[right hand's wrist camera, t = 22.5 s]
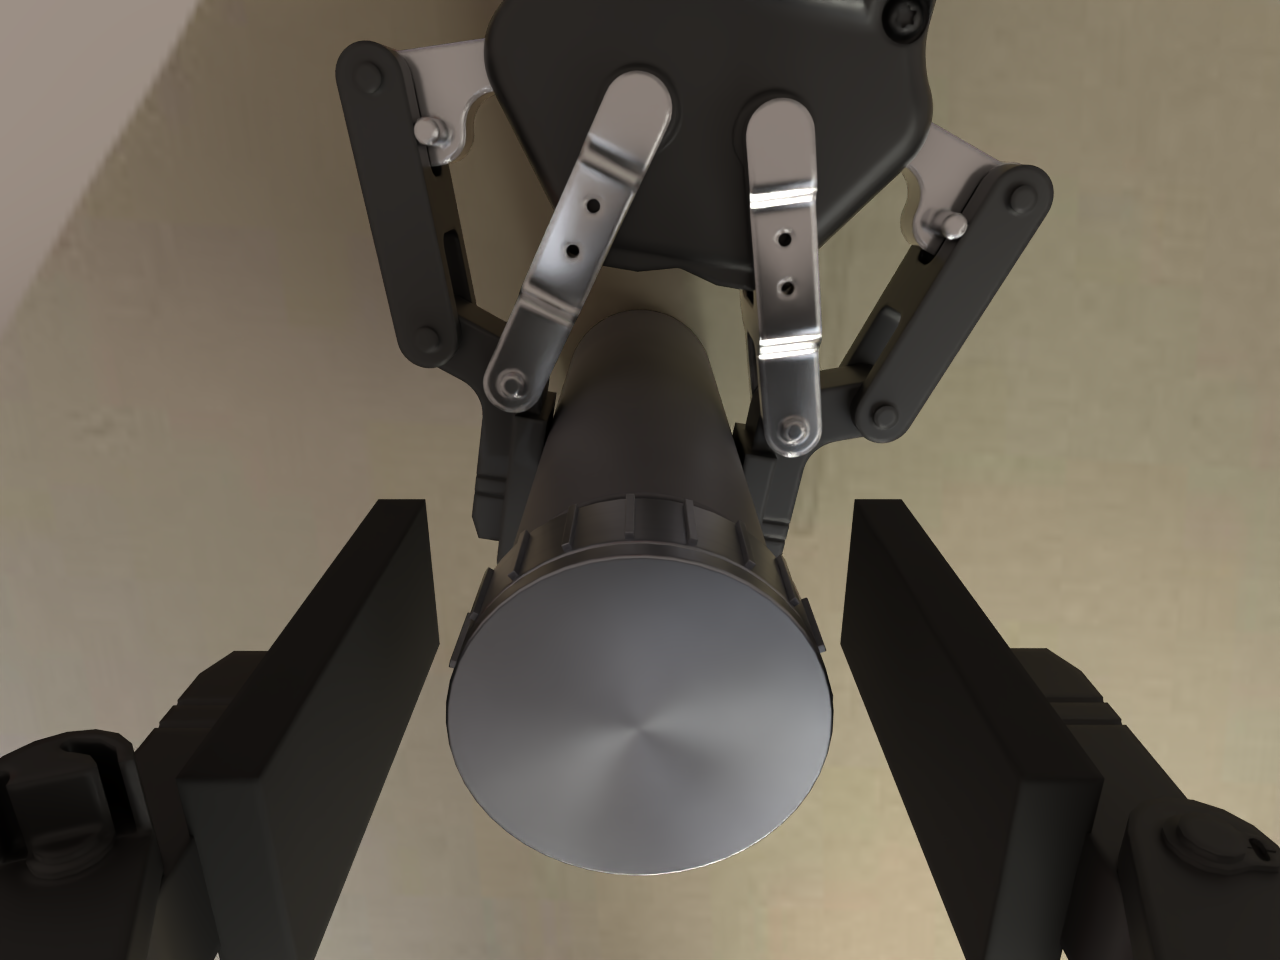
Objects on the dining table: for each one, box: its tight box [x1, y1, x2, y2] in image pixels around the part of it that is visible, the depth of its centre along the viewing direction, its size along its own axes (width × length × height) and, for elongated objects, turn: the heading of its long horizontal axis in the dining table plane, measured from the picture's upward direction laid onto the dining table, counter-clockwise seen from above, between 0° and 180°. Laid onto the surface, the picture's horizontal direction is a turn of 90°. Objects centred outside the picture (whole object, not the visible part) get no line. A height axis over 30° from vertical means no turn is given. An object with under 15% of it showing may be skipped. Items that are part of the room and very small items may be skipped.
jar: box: [513, 310, 767, 547], centre depth 19 cm, size 4×4×15 cm
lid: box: [446, 494, 834, 875], centre depth 11 cm, size 5×5×2 cm
